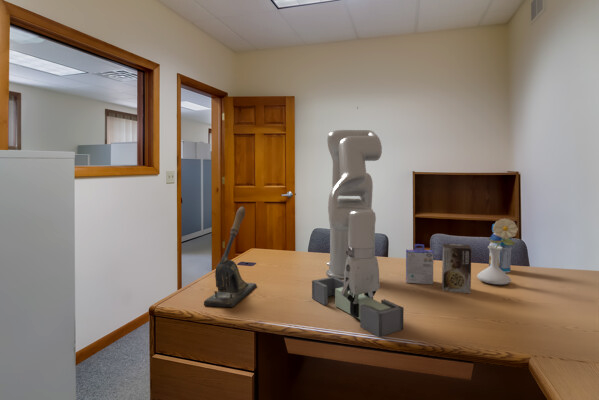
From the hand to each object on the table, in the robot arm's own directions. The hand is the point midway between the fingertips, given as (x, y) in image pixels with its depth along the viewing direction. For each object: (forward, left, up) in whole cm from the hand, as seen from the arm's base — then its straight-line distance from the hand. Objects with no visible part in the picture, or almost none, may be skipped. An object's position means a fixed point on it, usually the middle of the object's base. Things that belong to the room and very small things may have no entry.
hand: (360, 313), depth 102 cm
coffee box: (-1, +45, -1) cm, 45 cm away
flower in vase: (+2, +65, -1) cm, 65 cm away
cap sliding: (-16, 0, -1) cm, 16 cm away
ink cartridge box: (-14, +41, -1) cm, 43 cm away
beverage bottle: (-7, +83, -1) cm, 83 cm away
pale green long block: (0, 0, -1) cm, 1 cm away
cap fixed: (+9, 0, -1) cm, 9 cm away
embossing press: (-37, -26, -1) cm, 45 cm away
